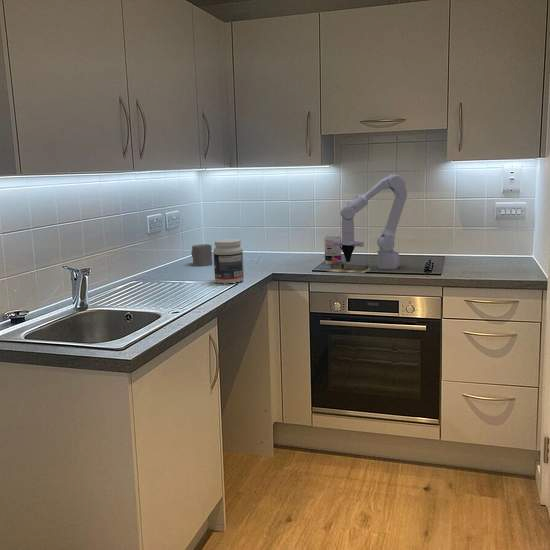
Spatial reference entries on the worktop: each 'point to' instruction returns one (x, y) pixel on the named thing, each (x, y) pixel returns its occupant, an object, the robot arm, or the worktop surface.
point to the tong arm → (354, 266)
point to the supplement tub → (228, 261)
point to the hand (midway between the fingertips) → (348, 261)
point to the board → (349, 270)
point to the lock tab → (334, 260)
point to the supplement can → (332, 249)
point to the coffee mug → (202, 255)
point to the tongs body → (342, 266)
